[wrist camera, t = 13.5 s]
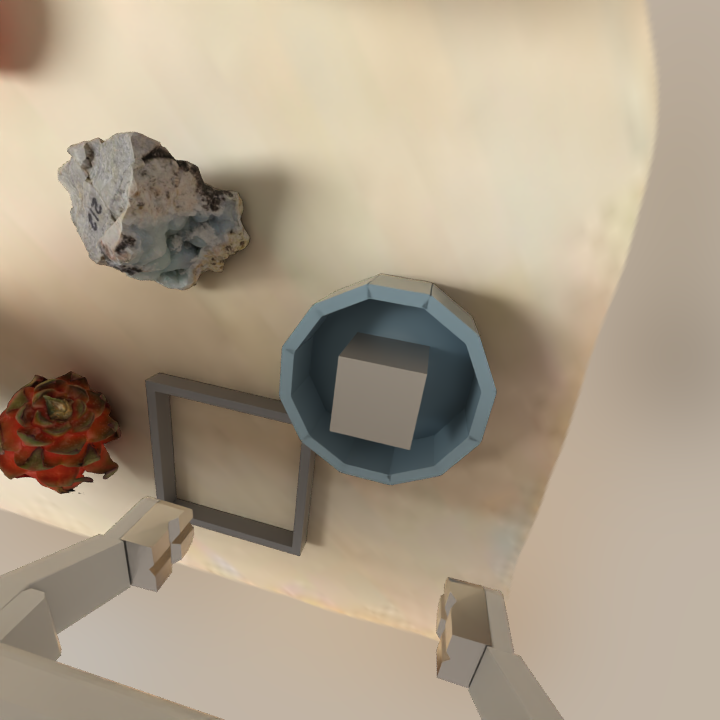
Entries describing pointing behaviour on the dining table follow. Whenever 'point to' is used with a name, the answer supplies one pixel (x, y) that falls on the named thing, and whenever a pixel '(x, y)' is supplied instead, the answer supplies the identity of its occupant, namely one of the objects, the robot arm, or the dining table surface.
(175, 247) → the mineral specimen
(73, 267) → the dining table surface
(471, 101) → the dining table surface
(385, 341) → the pebble block
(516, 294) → the dining table surface
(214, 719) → the robot arm
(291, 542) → the tray
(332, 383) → the bowl
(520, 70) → the dining table surface
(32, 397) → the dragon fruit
